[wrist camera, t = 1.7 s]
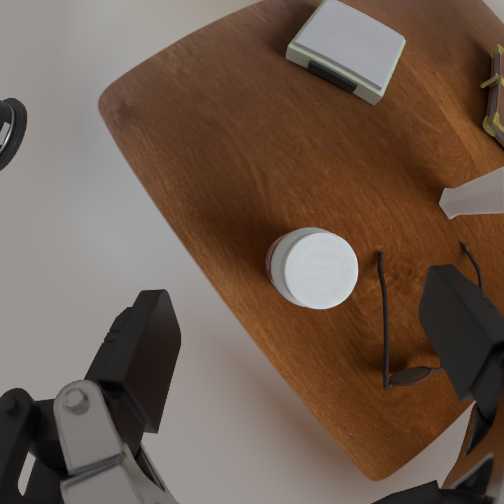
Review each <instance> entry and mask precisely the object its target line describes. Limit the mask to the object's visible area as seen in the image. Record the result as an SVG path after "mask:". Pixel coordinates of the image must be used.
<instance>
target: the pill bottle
mask: <svg viewBox="0 0 504 504" xmlns="http://www.w3.org/2000/svg"><path fill="white" fill-rule="evenodd" d="M266 271H267V274H268V277H269V279H270V280H271V282H272V283H273V285H274V286H275V288H276V289H277V290H278V291H279V292H280V294H281V295H282V296H284V297H285V298H286V299H287V300H288V301H290V302H292V303H294V304H296V305H299V306H303V307H309V308H314V309H327V308H331V307H334V306H336V305H338V304H340V303H341V302H343V301H344V300H345V299H346V298H347V297H348V296H349V295H350V293H351V292H352V290H353V288H354V286H355V284H356V281H357V276H358V263H357V259H356V256H355V253H354V251H353V250H352V248H351V247H350V245H349V244H348V243H347V242H346V241H345V240H344V239H342V238H341V237H339V236H337V235H335V234H332V233H330V232H328V231H326V230H324V229H320V228H315V227H307V228H301V229H298V230H295V231H292V232H289V233H287V234H285V235H283V236H281V237H279V238H278V239H277V240H276V241H274V243H273V244H272V245H271V247H270V248H269V250H268V253H267V256H266Z"/></svg>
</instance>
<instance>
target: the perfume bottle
mask: <svg viewBox="0 0 504 504" xmlns="http://www.w3.org/2000/svg"><path fill="white" fill-rule="evenodd" d="M439 205H440V207H441V208H442V210H443V211H444V213H445V214H446V216H447V217H448V218H449V219H451V218H453V217H455V216H457V215H465V214H488V213H504V167H501V168H499V169H497V170H495V171H492V172H490V173H488V174H486V175H484V176H481V177H479V178H477V179H475V180H472V181H470V182H468V183H465V184H463V185H461V186H459V187H456V188H454V189H451V188H444V191H443V193H442V196H441V199H440V201H439Z"/></svg>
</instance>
